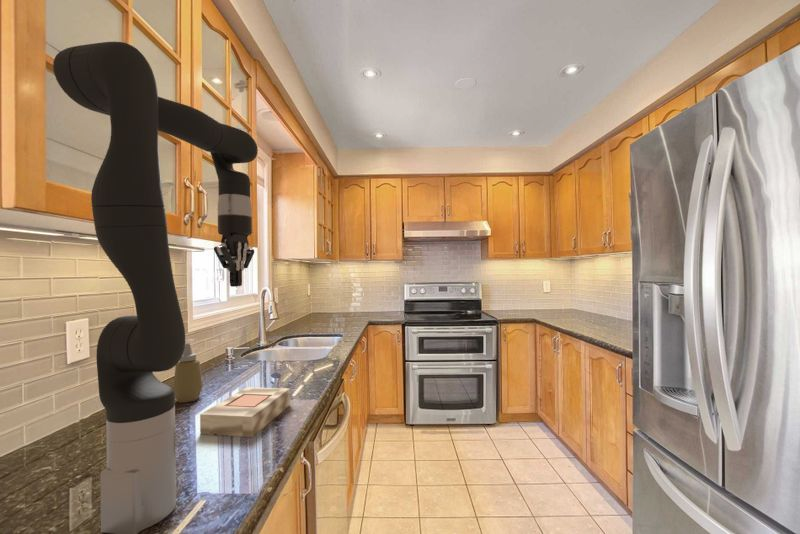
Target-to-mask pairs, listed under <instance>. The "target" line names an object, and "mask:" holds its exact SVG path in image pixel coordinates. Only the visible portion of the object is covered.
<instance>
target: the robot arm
mask: <svg viewBox="0 0 800 534" xmlns="http://www.w3.org/2000/svg"><path fill="white" fill-rule="evenodd" d="M52 67H53V68H52V70H53V74H54V76H55V80H56V82H57V83H58V85H59V87H60V88H61V90H62V91H63V92H64V94H66V95H67V96H68V97H69V98H70V99H71V100H72V101H74V102H75V103H76V104H77V105H79V106H81V107H83V108H85V109H87V110H89V111H93V112H96V113H100V114H103V115H107V116H109V117H110V118H109V119H110V138H109V139H110V140H109V144H108V148H107V151H106V154H105V156H104V157H103V158H104V159H103V161H102V162H101V164H100V168H99V169H98V172H97V174H96V177H95V179H94V182H93V185H92V189H91V195H90V196H91V197H90V198H91V199H90V200H91V210H92V211H91V212H92V216H93V218H92V219H93V223H94V230H95V234H96V238H97V241H98V243H99V245H100V247H101V249H102V250H103V252H104V253H105V254H106V256H107V257H108V259H109V260H110V261H111V263H112V265H114V267H115V268H116V269H117V270H118V272H119V274H121V276H122V277H123V279H124V280H125V282H126V283H127V285H128V286H129V289H130V291H131V294H132V297H133V301H134V305H135V311H136V312H135V313H136V315H123V316H120V317H116V318H114V319H112V320H111V321H109V322H108V323H107V324H106V325H105V326H104V328H103V329H102V330H101V332H100V335H99V337H98V340H97V345H96V369H97V370H96V371H97V382H98V396H99V400H100V403H101V405H102V406H103V408H104V410H105V415H106V417H105V418H106V422H105V423H106V426H105V427H106V468H104V469H103V470H102V471H100V474H99V476H100V477H99V479H100V483H99V484H100V485H99V486H100V533H103V534H104V533H105V534H139V533H141V532H142V531H143V530H146V529H148V528H150V527H152V526H154V525H156V524H158V523H159V522H161V521H162V520H164V519H165V518H166V517H168V516H169V515H170V514H171V513H172V512H173V511H174V510H175V507H176V505H177V471H176V470H177V468H176V465H177V463H176V458H177V457H176V397H175V393H174V390H173V387H172V386H169V385H168V384H166V383H165V382H163V381H161V380H159V379H158V378H157V377H156V376H155V374H154V373H158V372H166V371H169V370H171V369H173V368H174V367H176V364H177V363H178V362H180V359H181V357H182V355H183V352H184V348H185V344H186V330H185V324H184V319H183V315H182V310H181V306H180V302H179V299H178V298H179V297H178V294H177V290H176V285H175V281H174V274H173V267H172V261H171V253H170V247H169V246H170V245H169V236H168V235H169V234H168V224H167V223H168V222H167V214H166V208H165V207H166V206H165V201H164V195H163V186H162V177H161V176H162V174H161V164H160V153H159V151H160V150H159V149H160V148H159V132H161V133H165V134H166V135H168V136H172V137H174V138H176V139H179V140H181V141H184V142H185V143H188V144H190V145H192V146H193V147H196V148H199V149H200V150H202V151H205V152H208V153H210V155H211V160H212V163H213V165H214V169H215V172H216V176H217V180H218V184H217V185H218V200H217V233H218V234H219V235H221V238H220V239H221V240H220V243H221V244H219V246H214V248H213V251H214V253H215V254H216V257H217V259H218V260H219V262H220V264H221V266H222V268H223V269H227V271H228V272H229V285H230V286H229V287H236V288H237V287H241V286H243V271H244V270H245V269H248V268H249V265H250V264H251V261H252V259H253V257H254V254H255V250H254V249H253V248H250V247H249V245H250V244H249V243H250V242H249V239H248V237H249V236H251V235H252V234H253V219H252V218H253V217H252V216H253V215H252V214H253V213H252V211H253V209H252V202H251V201H252V200H251V179H250V176H249V175H248V174H247V173H245V172H242V171H238V170H237V171H236V170H235V169H234V166H233V165H235V164H245V163H247V164H249V163H250V162H253V161H254V160H255V159H256V158H257V156H258V151H259V149H258V145H257V142H256V141H255V139H254V138H253V137H252V135H250V134H249V132H246V131H244V130H242V129H240V128H237V127H233V126H230V125H228V124H225V123H221V122H219V121H218V120H215V118H212V117H211V116H209V115H208V114H206V113H205V112H203V111H201V110H199V109H197V108H195V107H193V106H189V105H188V104H187V105H186V104H184V103H180V102H178V101H174V100H170V99H167V98H164V97H160V96H159V94H158V86H157V82H156V81H157V80H156V78H155V74H154V71H153V69H152V67H151V65H150V63H149V62H148V60H147V58H146V57H145V55H143V53H142V52H141V51H139V49H138V48H136V47H135V46H134V45H132V44H129V43H127V42H124V41H105V42H103V41H102V42H97V43H89V44H88V43H87V44H80V45H76V46H75V45H74V46H70V47H66V48H64V49H62V50H61V51H59V52H58V53H57V54H56V55H55V57H54V59H53V63H52Z"/></svg>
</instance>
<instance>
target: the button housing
mask: <svg viewBox="0 0 800 534" xmlns="http://www.w3.org/2000/svg"><path fill="white" fill-rule="evenodd" d="M290 391H291V388H289V387H288V388H285V387H283V388H281V387H258V386H257V387H256V386H255V387H254V386H247V387H245V388H243V389H242V390H239V391H237V392H235V393H234V394H232V395H231V396H229V397H227V398H226V399H224V400H223V401H220V402H219V403H217V404H215V405H214V406H211V407H210V408H208V409H207V410H204V411H202V412H201V413H200V414H199V423H200V424H199V428H200V429H199V430H200V432H199V434H200V435H204V434H205V435H206V434H217V435H216V436H222V435H228V436H227V437H239V438H240V437H243V438H253V437H254V436H255V435H257V434H258V433H259V432H260V431H261V430H262V429H264V428H265V427H266V426H267V425H268V424H270V423H271V422H272V421H273V420H274V419H275V418H277V417H278V416H280V414H281V413H283V412H284V411H285V410H286V409H288V408H289V407H290V405H291V392H290ZM244 395H260V396H269V398H268V399H266V400H265V401H263V402H262V403H260V404H259V405H258V406H256V407H235V406H228V405H229V404H231V403H232V402H234V401H235V400H237V399H239V398H240V397H242V396H244Z"/></svg>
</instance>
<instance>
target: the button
mask: <svg viewBox="0 0 800 534" xmlns="http://www.w3.org/2000/svg"><path fill="white" fill-rule="evenodd" d="M268 398H269V396H260V395H244V396H242V397H240V398H239V399H237V400H235V401H234V402H232V403H231V404H229V405H228V406H235V407H256V406H258V405H259V404H260V403H262V402H263V401H265V400H266V399H268Z"/></svg>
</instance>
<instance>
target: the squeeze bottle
mask: <svg viewBox="0 0 800 534" xmlns="http://www.w3.org/2000/svg"><path fill="white" fill-rule="evenodd" d="M173 378H174V379H173V380H174V381H173V386H172V389H173V390H174V393H175V400H176V401H177V402H178V403H181V404H184V403H190V402H193V401H196V400H198V399H199V398H200V395H201V393H202V389H203V385H204V384H203V378H202V369H201V362H200V360H198V359H197V353H195V352H193V350H192V347H191V343H190V342H187V343H186V342H185V348H184V352H183V355H182V357H181V359H180V361H179V362H178V363H177V364H176V366H175V370H174V377H173Z"/></svg>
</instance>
